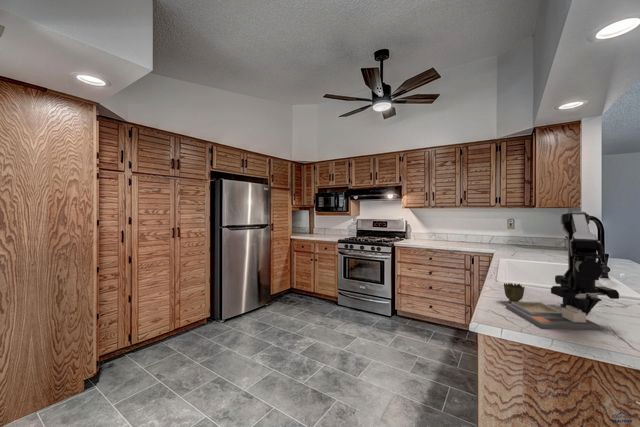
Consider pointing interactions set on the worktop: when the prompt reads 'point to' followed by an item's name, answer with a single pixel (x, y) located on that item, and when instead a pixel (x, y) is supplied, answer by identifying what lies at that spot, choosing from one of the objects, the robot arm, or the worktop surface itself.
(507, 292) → the cup
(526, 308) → the lockout tray
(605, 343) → the worktop surface
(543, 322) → the grey flat square slab
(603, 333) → the worktop surface
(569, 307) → the breaker switch
